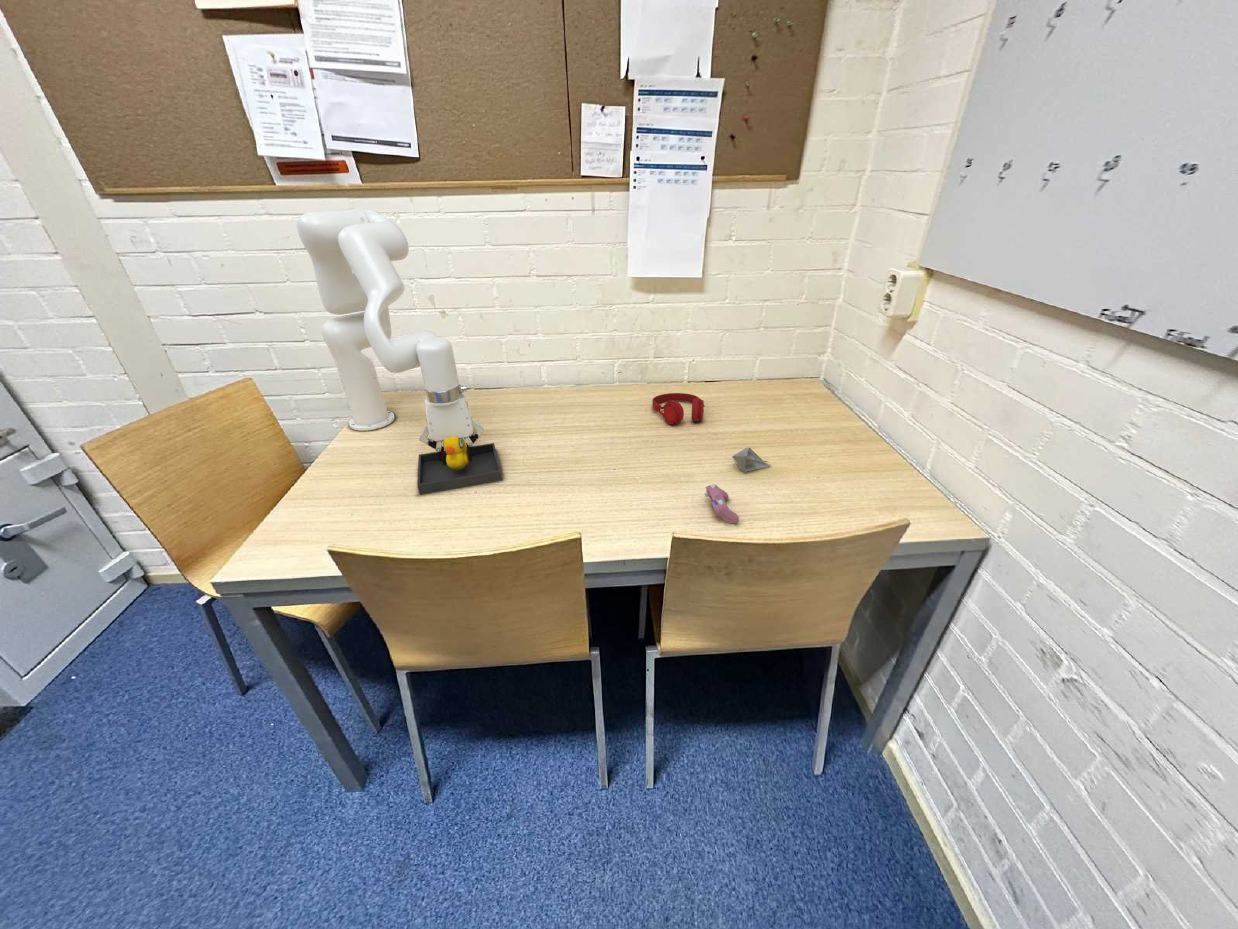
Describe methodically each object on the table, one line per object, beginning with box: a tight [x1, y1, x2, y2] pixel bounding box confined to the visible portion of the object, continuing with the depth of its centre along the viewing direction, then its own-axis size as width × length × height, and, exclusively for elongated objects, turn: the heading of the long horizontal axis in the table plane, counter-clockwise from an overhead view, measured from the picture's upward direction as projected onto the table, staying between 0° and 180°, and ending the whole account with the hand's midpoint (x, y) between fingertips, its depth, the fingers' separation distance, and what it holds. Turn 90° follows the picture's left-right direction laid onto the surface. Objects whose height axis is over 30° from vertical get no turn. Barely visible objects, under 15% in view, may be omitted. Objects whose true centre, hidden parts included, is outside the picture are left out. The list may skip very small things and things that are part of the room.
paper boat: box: [731, 446, 769, 473], centre depth 122 cm, size 12×6×9 cm
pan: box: [416, 442, 503, 496], centre depth 124 cm, size 15×19×3 cm
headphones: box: [651, 392, 706, 425], centre depth 152 cm, size 15×7×20 cm
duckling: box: [442, 436, 469, 470], centre depth 121 cm, size 11×5×10 cm, turn 4°
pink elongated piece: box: [704, 483, 740, 524], centre depth 108 cm, size 10×5×7 cm, turn 5°
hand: (457, 459), depth 123 cm, fingers closed on duckling, 5 cm apart
